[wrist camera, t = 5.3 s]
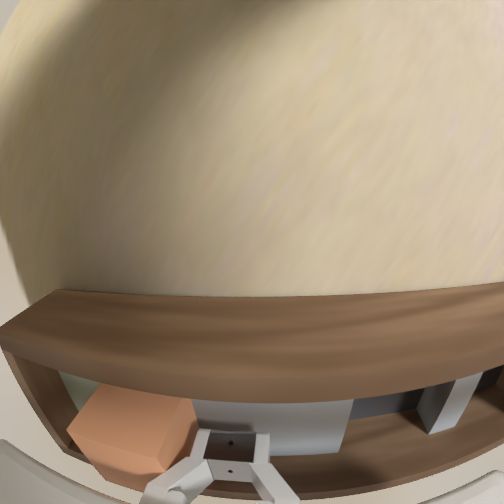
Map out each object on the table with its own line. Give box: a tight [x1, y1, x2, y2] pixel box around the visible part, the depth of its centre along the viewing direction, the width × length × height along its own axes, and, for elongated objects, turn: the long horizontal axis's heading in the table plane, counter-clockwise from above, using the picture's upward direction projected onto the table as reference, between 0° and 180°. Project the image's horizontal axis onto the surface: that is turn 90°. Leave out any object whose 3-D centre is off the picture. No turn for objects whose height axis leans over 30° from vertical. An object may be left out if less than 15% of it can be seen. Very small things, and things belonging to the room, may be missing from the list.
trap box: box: [0, 282, 504, 501], centre depth 11 cm, size 9×30×6 cm, turn 93°
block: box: [66, 383, 199, 493], centre depth 9 cm, size 4×4×4 cm
